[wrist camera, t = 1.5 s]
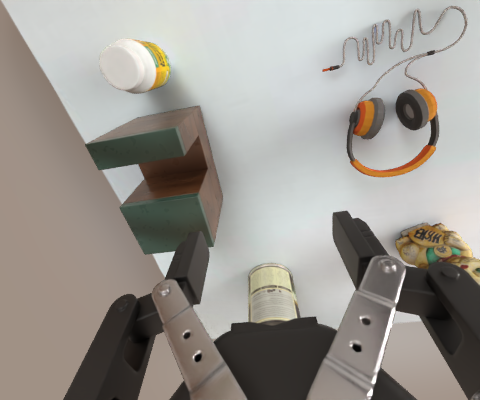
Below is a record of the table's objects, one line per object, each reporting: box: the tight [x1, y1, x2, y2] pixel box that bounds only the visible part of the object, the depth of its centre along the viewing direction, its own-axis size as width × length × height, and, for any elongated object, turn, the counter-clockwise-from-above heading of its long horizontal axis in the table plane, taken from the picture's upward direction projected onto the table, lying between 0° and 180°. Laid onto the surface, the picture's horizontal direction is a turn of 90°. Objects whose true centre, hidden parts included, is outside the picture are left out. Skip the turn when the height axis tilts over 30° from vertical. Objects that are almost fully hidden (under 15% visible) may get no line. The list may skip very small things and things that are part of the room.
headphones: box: [323, 6, 467, 177], centre depth 30 cm, size 17×5×20 cm
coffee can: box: [248, 263, 300, 326], centre depth 47 cm, size 10×10×14 cm
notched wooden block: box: [85, 106, 223, 255], centre depth 33 cm, size 16×10×13 cm, turn 10°
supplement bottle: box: [99, 39, 171, 94], centre depth 27 cm, size 5×5×10 cm
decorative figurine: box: [396, 223, 480, 285], centre depth 39 cm, size 10×8×15 cm
